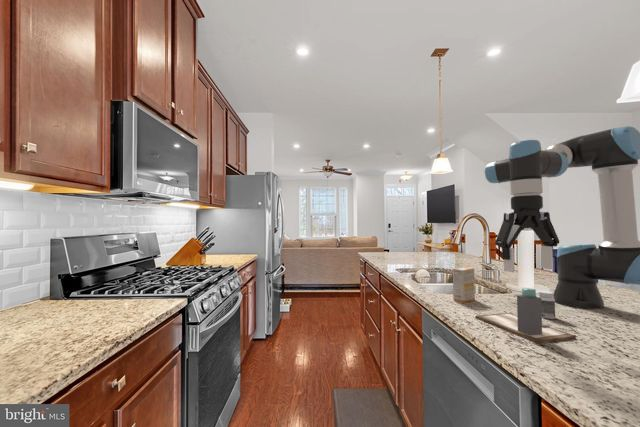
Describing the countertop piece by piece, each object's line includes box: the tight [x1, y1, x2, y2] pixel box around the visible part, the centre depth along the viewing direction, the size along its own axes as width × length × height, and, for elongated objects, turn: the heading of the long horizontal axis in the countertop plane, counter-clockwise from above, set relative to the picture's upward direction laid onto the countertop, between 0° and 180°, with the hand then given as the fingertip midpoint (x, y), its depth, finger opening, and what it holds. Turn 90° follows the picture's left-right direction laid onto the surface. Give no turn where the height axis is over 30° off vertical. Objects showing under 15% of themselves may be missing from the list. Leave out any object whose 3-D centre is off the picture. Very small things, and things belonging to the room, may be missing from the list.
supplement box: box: [452, 266, 476, 303], centre depth 124 cm, size 8×5×13 cm, turn 122°
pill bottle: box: [537, 290, 556, 320], centre depth 101 cm, size 5×5×8 cm
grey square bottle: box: [516, 287, 543, 335], centre depth 85 cm, size 4×4×12 cm
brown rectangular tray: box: [475, 312, 577, 344], centre depth 91 cm, size 13×22×1 cm, turn 14°
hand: (528, 270), depth 85 cm, fingers open, 13 cm apart
